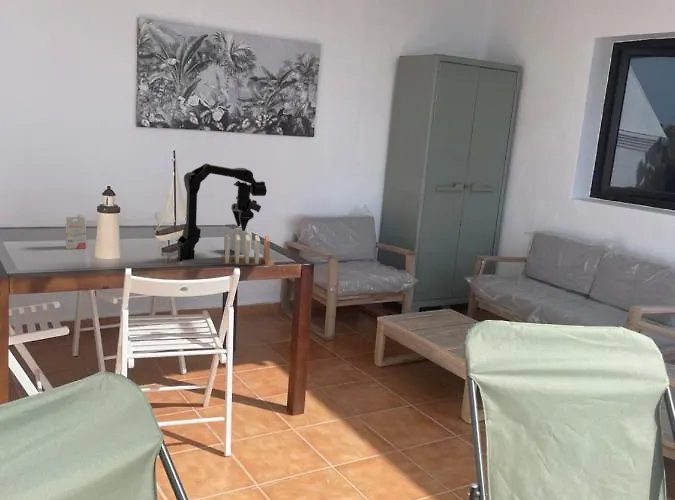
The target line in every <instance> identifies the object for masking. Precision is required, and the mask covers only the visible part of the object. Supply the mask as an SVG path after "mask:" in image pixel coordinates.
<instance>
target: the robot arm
mask: <svg viewBox="0 0 675 500" xmlns="http://www.w3.org/2000/svg"><path fill="white" fill-rule="evenodd" d="M211 174H213V175H218V176H222V177H223V176H224V177H230V178H233V179H236V181H235V183H233V186H235V187H237V196H236V197H235V199H236V203H233V204H231V208H230V209H231V210H232V211H231V212H232V214H233V217H234V219H235V222H236V226H237V227H240V228H242V231H245V229H247V226H248V222H249V221H250V220H252V219H254V218H255V217H254V216H255V213H254V212H253V211H255V212H256V213H260V211H261V208H262V205H260V204H259V203H258V202H257V200H254V199H251V198H250V197H251V195H252V196H253V197H265V196H266V195H267V191H268V190H267V186H266V182H265V181H263V180H262V181H256V179H255V178H254V174H253V172H252V170H250V169H247V168H244V167H236V168H232V167H226V166H220V165H213V164H209V163H203V165H201V166H200V167H198V168H195V169H194V170H192V171H189V172H187V173H185V174H184V176H183V182H184V188H185V190H186V214H185V215H186V217H185V225H184V228H183V231H182V234H181V236H180V237H179V238H178V239H177V240H176V242H177V244H178V246H177V247H178V248H177V256H176V259H177V260H178V261H179V262H183V261H190V260H193V259H195V253H196V251H195V247H196V244H197V243H199V241H200V239H201V238H202V237H201V228H200V227H198V226H197V212H198V211H197V209H198V207H197V206H198V204H197V203H198V192H199V190H200V188H201V183H202V182H203V181H204V180H205V179H206V178H207V177H208V176H209V175H211Z"/></svg>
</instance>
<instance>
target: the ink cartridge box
mask: <svg viewBox="0 0 675 500" xmlns="http://www.w3.org/2000/svg"><path fill="white" fill-rule="evenodd" d="M77 220H78V221H77ZM86 230H87V225H86V217H84V216H82V217H81V216H72V217H71V216H67V217H66V218H65V249H67V250H72V249H73V250H75V249H77V250H78V249H79V250H80V249H82V250H84V249H86V248H87V245H86V243H87V240H86V239H87V237H86V236H87V233H86V232H87V231H86Z"/></svg>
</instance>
